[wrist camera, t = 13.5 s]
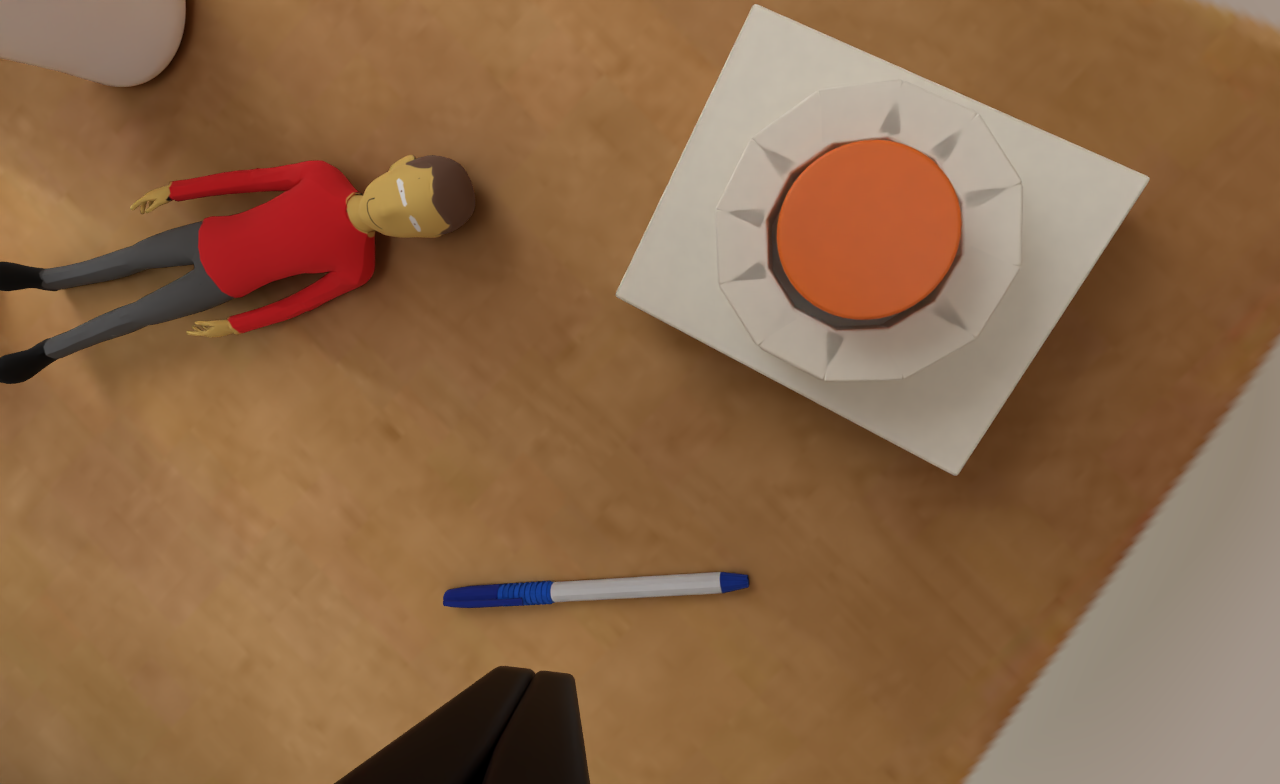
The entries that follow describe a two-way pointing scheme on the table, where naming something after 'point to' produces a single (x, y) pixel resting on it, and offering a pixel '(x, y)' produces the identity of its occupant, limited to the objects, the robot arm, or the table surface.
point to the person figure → (254, 248)
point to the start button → (869, 229)
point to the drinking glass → (93, 37)
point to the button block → (933, 328)
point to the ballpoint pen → (593, 589)
